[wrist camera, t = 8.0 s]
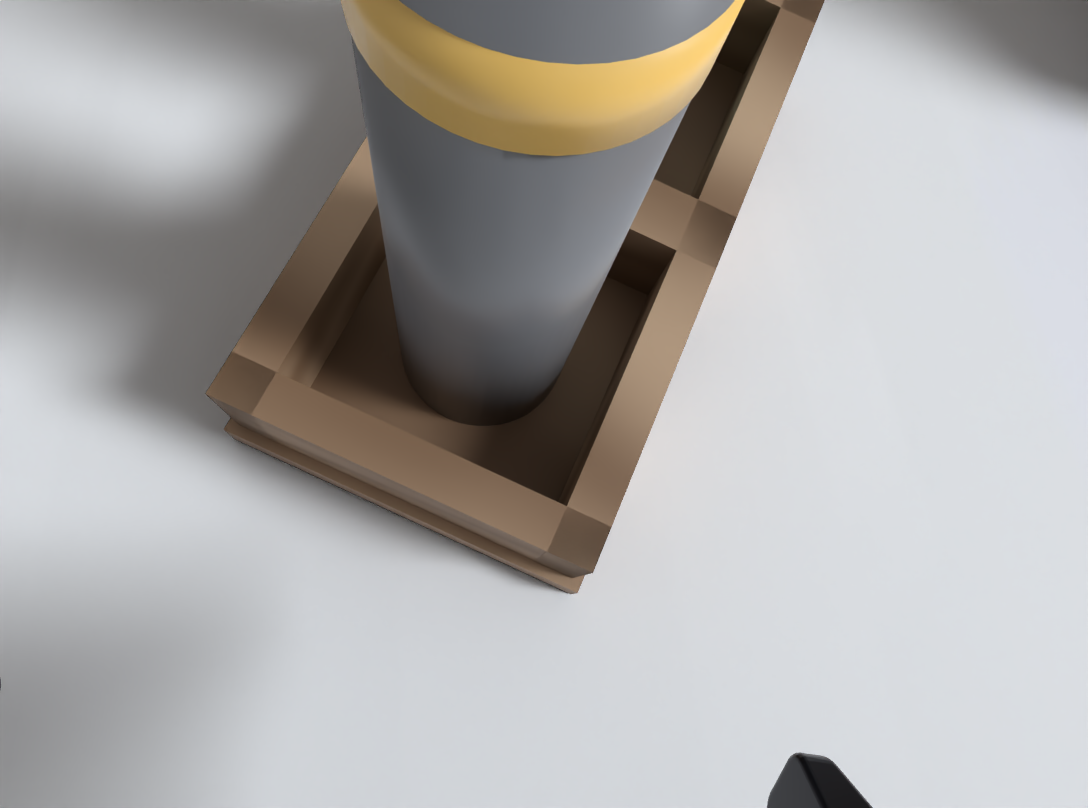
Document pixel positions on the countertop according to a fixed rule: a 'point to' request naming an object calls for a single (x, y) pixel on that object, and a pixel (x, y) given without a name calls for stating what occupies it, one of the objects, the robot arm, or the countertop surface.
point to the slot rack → (585, 380)
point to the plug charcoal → (515, 171)
